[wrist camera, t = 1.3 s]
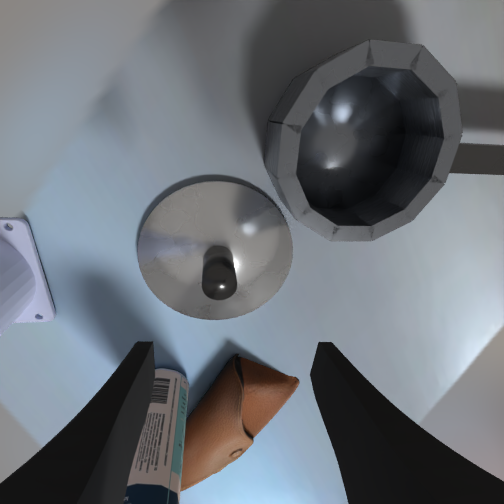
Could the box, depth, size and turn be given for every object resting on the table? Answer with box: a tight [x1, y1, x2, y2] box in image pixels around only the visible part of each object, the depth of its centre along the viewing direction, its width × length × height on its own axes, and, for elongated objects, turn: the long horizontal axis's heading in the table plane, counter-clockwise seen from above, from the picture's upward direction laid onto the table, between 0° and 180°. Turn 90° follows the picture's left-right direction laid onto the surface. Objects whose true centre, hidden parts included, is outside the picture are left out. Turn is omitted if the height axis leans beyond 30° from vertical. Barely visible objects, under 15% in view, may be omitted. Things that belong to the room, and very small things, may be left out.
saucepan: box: [264, 39, 504, 241], centre depth 18 cm, size 18×10×4 cm, turn 87°
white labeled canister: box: [123, 368, 189, 504], centre depth 21 cm, size 5×5×12 cm
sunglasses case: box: [180, 354, 299, 492], centre depth 29 cm, size 18×7×7 cm, turn 148°
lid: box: [138, 181, 293, 320], centre depth 20 cm, size 11×11×4 cm
